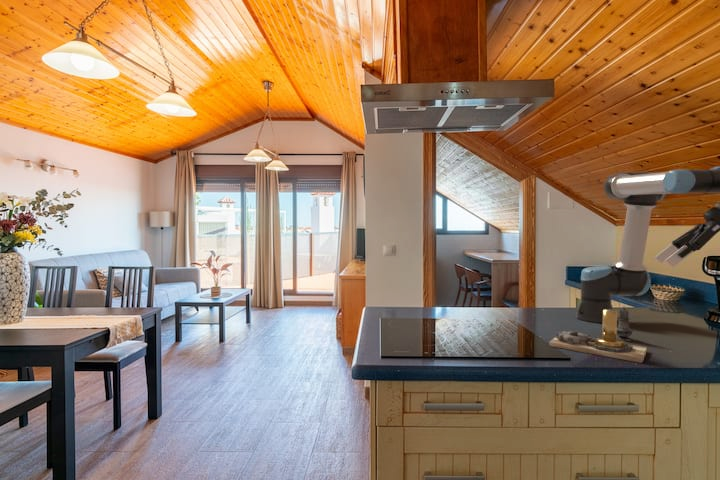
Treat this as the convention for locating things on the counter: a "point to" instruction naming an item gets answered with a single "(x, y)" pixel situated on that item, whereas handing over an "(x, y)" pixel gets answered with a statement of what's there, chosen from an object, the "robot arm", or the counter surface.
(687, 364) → the counter surface
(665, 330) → the counter surface
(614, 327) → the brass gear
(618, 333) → the stone chess piece
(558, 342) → the gear board
